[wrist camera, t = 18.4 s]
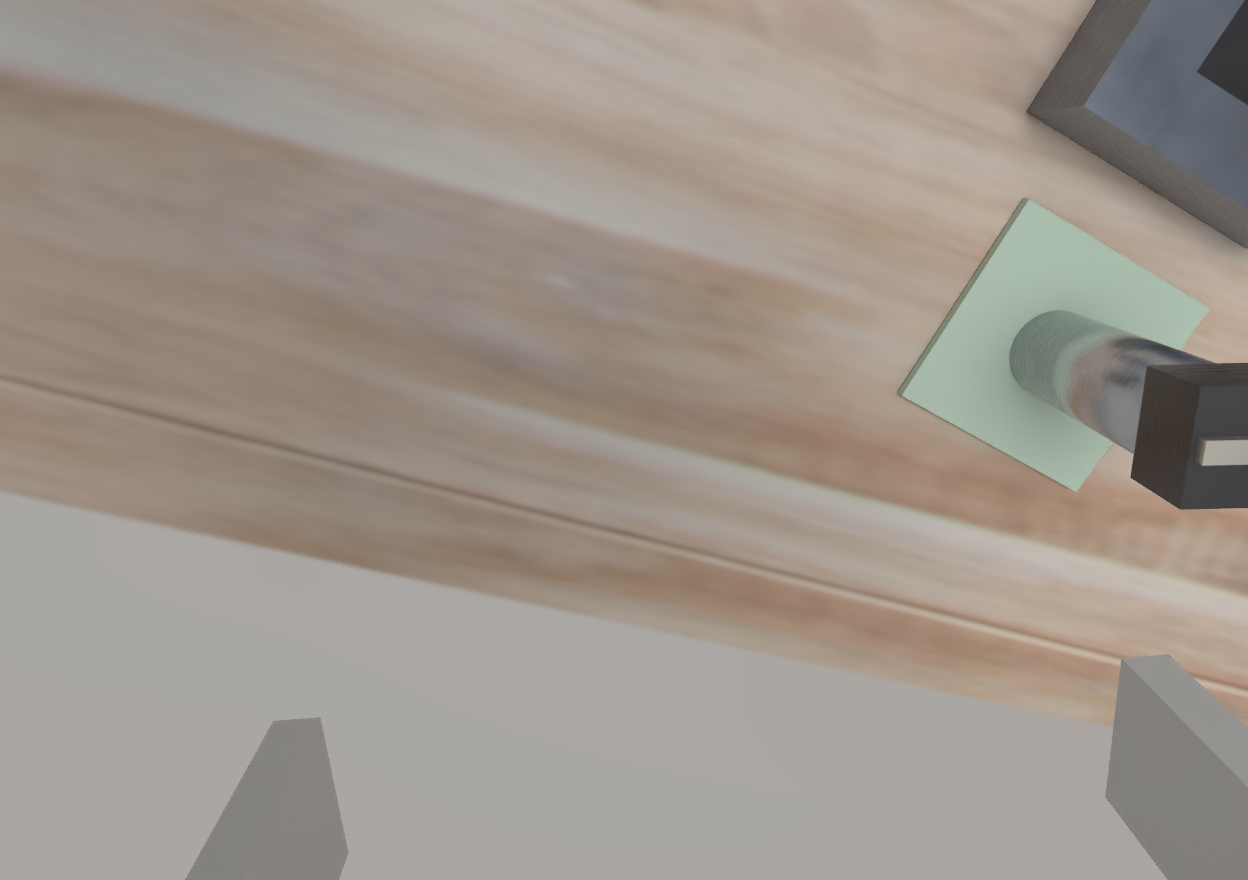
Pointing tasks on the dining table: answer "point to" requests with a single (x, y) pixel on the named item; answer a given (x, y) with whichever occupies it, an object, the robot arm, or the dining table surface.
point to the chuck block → (1162, 100)
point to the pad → (1009, 298)
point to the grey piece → (1144, 404)
